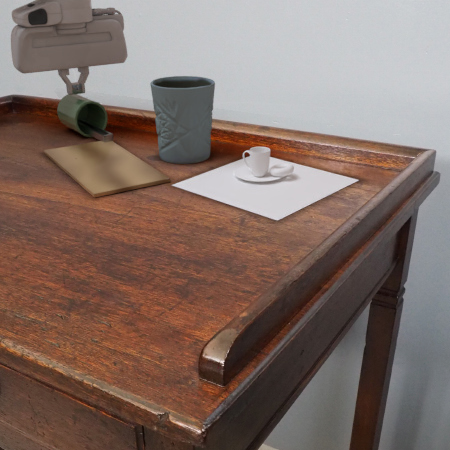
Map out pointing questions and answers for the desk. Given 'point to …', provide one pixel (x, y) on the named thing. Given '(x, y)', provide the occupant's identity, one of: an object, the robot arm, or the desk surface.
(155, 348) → the desk surface
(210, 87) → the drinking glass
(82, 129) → the tongs
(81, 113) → the green cup
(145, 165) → the cork mat
